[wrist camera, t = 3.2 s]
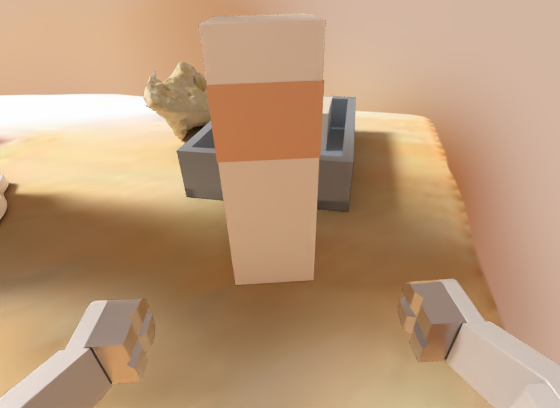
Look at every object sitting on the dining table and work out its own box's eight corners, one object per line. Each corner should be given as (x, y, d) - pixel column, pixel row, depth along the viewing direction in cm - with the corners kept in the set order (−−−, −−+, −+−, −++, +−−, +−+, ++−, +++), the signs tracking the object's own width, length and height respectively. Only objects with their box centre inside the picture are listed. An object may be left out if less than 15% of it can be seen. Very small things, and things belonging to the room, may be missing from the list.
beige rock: (212, 121, 58) (127, 73, 48) (237, 91, 55) (152, 33, 45) (221, 182, 49) (120, 138, 39) (253, 151, 45) (150, 94, 36)
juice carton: (234, 285, 23) (196, 24, 14) (238, 235, 27) (212, 16, 19) (314, 280, 23) (327, 20, 14) (304, 231, 28) (309, 13, 19)
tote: (186, 196, 33) (176, 150, 30) (244, 127, 49) (241, 93, 46) (348, 211, 30) (353, 162, 27) (352, 132, 46) (355, 97, 43)
